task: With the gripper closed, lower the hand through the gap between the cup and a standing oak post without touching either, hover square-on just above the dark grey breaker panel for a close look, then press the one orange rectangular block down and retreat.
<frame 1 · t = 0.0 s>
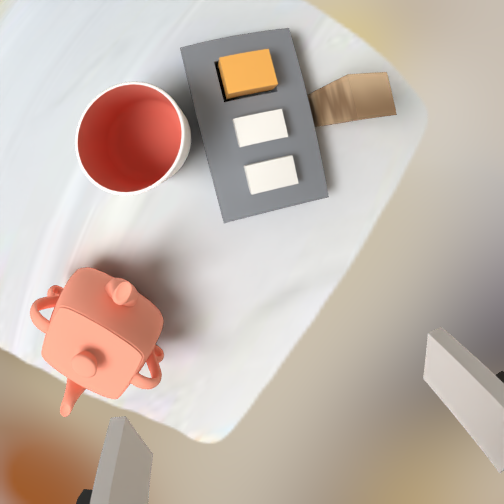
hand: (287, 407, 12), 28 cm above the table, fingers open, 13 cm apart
oak post: (326, 108, 35), on the table
breaker panel: (253, 122, 35), on the table
teapot: (112, 310, 40), on the table
cup: (149, 140, 34), on the table
orange rectangular block: (246, 74, 29), point 4 cm above the table, slide at 0.0 cm
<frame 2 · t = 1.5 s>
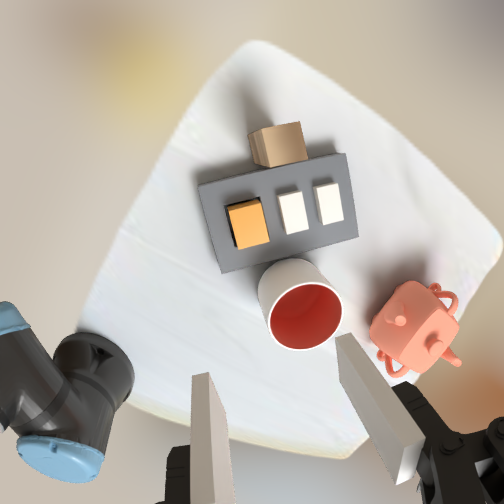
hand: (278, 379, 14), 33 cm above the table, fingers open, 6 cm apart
oak post: (265, 145, 42), on the table
breaker panel: (279, 208, 45), on the table
teapot: (398, 312, 54), on the table
cup: (288, 286, 49), on the table
orange rectangular block: (248, 223, 41), point 4 cm above the table, slide at 0.0 cm
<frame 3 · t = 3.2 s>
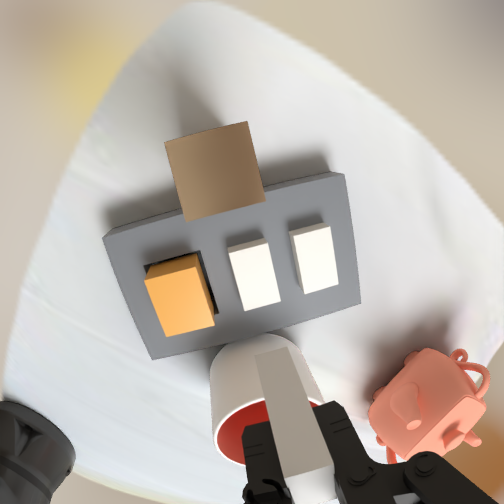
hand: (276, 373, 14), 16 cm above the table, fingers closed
oak post: (211, 163, 26), on the table
breaker panel: (237, 262, 29), on the table
teapot: (408, 382, 38), on the table
cup: (256, 366, 33), on the table
orange rectangular block: (181, 294, 25), point 4 cm above the table, slide at 0.0 cm
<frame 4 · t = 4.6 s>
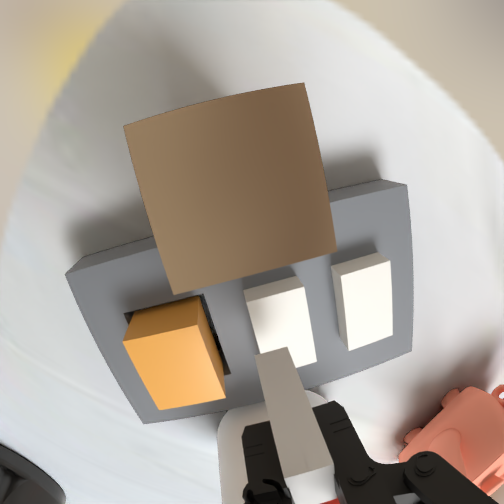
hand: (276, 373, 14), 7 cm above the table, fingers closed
oak post: (220, 165, 18), on the table
breaker panel: (255, 302, 21), on the table
teapot: (442, 420, 30), on the table
cup: (274, 420, 25), on the table
orange rectangular block: (177, 354, 17), point 4 cm above the table, slide at 0.0 cm
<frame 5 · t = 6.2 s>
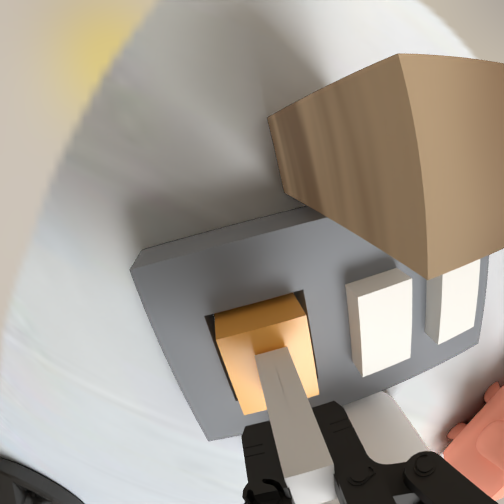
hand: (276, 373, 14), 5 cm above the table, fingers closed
oak post: (312, 147, 16), on the table
breaker panel: (338, 299, 19), on the table
teapot: (480, 414, 28), on the table
cup: (336, 424, 23), on the table
orange rectangular block: (266, 351, 16), point 3 cm above the table, slide at 0.9 cm, touching gripper
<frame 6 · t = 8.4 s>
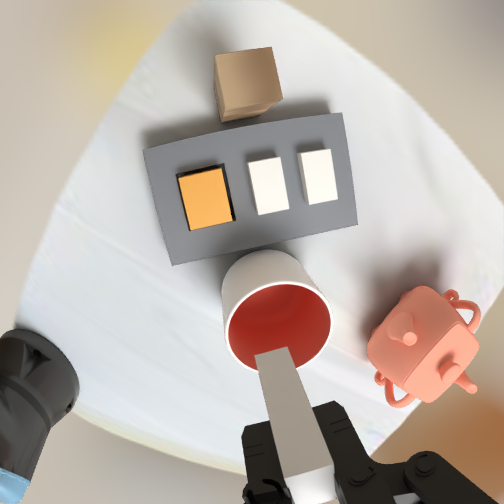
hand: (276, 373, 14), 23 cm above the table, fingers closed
oak post: (236, 101, 31), on the table
breaker panel: (253, 183, 34), on the table
teapot: (403, 324, 43), on the table
cup: (263, 286, 38), on the table
orange rectangular block: (206, 197, 31), point 3 cm above the table, slide at 1.0 cm
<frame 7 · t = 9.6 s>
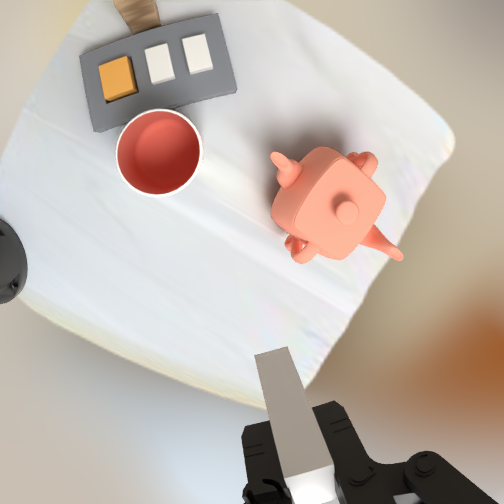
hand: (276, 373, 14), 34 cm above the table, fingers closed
oak post: (146, 21, 36), on the table
breaker panel: (157, 72, 39), on the table
teapot: (314, 197, 47), on the table
cup: (169, 152, 43), on the table
orange rectangular block: (118, 79, 36), point 3 cm above the table, slide at 1.0 cm
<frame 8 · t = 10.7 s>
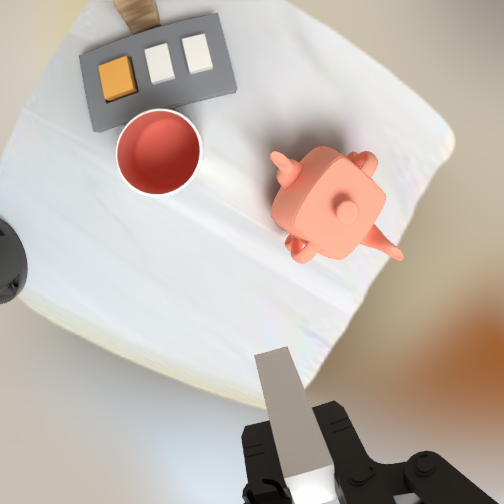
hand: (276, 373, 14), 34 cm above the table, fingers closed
oak post: (146, 21, 36), on the table
breaker panel: (156, 72, 39), on the table
teapot: (314, 196, 47), on the table
cup: (169, 152, 43), on the table
orange rectangular block: (118, 79, 36), point 3 cm above the table, slide at 1.0 cm
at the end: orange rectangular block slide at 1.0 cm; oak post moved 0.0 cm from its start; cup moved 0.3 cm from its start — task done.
